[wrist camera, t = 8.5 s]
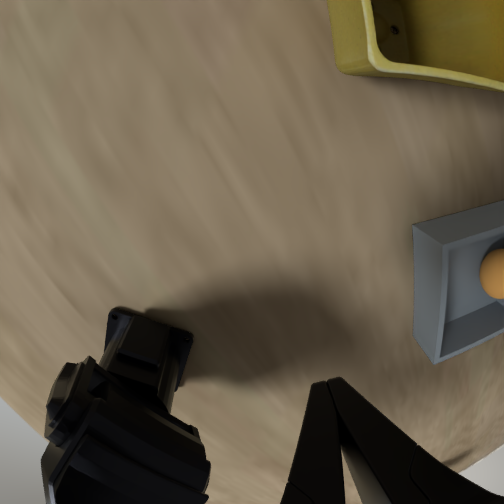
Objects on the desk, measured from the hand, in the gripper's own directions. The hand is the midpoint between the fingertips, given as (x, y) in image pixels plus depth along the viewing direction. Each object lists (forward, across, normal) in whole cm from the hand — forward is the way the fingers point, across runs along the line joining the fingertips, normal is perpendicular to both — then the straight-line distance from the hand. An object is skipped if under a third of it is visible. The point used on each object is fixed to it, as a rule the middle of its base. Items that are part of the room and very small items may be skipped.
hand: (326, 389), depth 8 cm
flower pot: (+13, -9, -12) cm, 20 cm away
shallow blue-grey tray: (+13, -14, +6) cm, 21 cm away
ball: (+11, -17, +6) cm, 21 cm away
